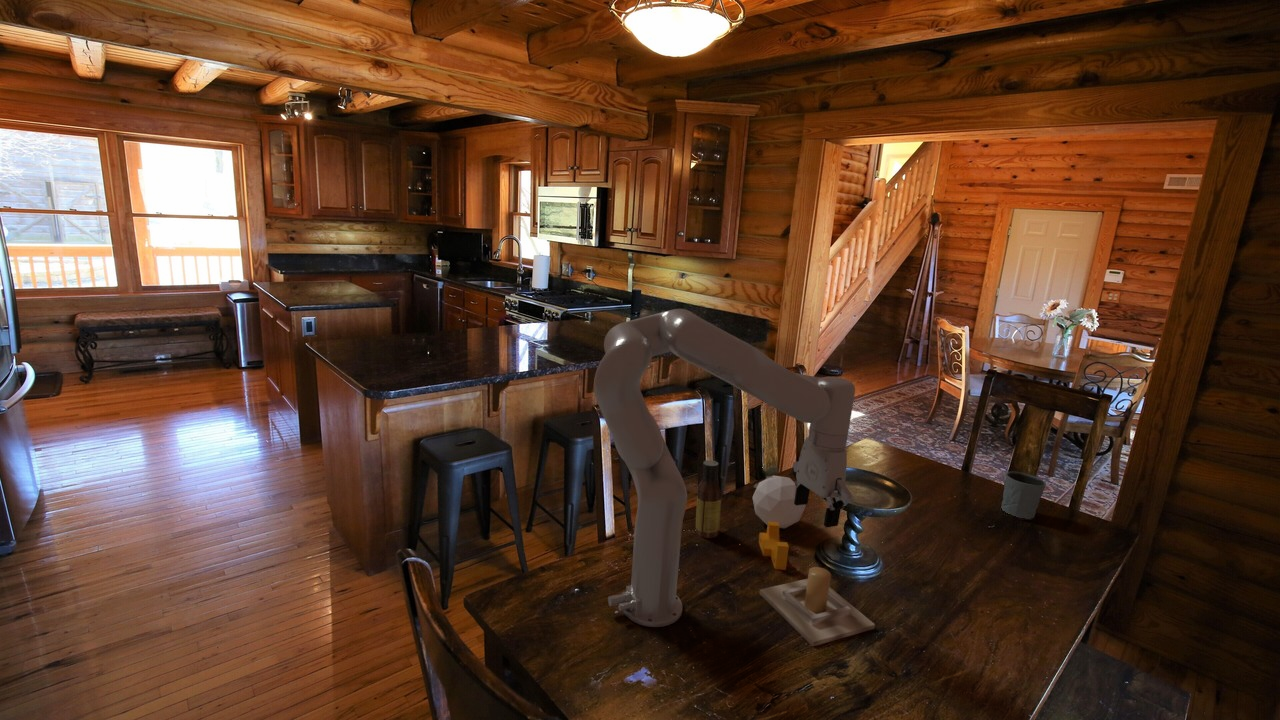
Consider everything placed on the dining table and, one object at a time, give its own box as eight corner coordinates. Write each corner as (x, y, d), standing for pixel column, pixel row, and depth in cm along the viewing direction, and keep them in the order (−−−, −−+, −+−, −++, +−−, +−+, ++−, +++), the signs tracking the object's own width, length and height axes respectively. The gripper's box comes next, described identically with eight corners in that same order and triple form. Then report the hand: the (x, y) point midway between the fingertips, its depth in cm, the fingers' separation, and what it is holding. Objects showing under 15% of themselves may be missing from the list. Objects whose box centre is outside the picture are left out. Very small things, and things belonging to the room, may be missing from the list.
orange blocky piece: (758, 543, 153) (761, 521, 152) (775, 544, 153) (778, 522, 152) (767, 569, 142) (770, 545, 140) (785, 571, 142) (788, 546, 140)
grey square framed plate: (812, 646, 116) (814, 634, 115) (759, 593, 132) (760, 583, 131) (874, 628, 122) (876, 617, 122) (816, 580, 138) (817, 570, 138)
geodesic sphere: (738, 526, 161) (743, 477, 158) (756, 507, 173) (762, 461, 170) (791, 544, 154) (798, 493, 151) (807, 523, 166) (814, 475, 163)
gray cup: (990, 507, 184) (998, 470, 181) (1020, 507, 185) (1028, 471, 182) (1014, 523, 174) (1022, 485, 171) (1045, 523, 175) (1054, 485, 173)
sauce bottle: (722, 532, 157) (729, 462, 153) (712, 542, 152) (719, 470, 148) (700, 524, 161) (706, 456, 156) (689, 534, 156) (696, 463, 151)
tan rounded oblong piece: (814, 615, 124) (819, 581, 122) (799, 602, 128) (804, 569, 126) (830, 610, 126) (835, 576, 124) (815, 598, 130) (820, 565, 128)
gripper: (786, 424, 127) (776, 498, 131) (842, 455, 112) (828, 537, 115) (814, 423, 130) (803, 495, 134) (872, 452, 114) (858, 532, 118)
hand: (815, 514), depth 124 cm, fingers open, 9 cm apart
